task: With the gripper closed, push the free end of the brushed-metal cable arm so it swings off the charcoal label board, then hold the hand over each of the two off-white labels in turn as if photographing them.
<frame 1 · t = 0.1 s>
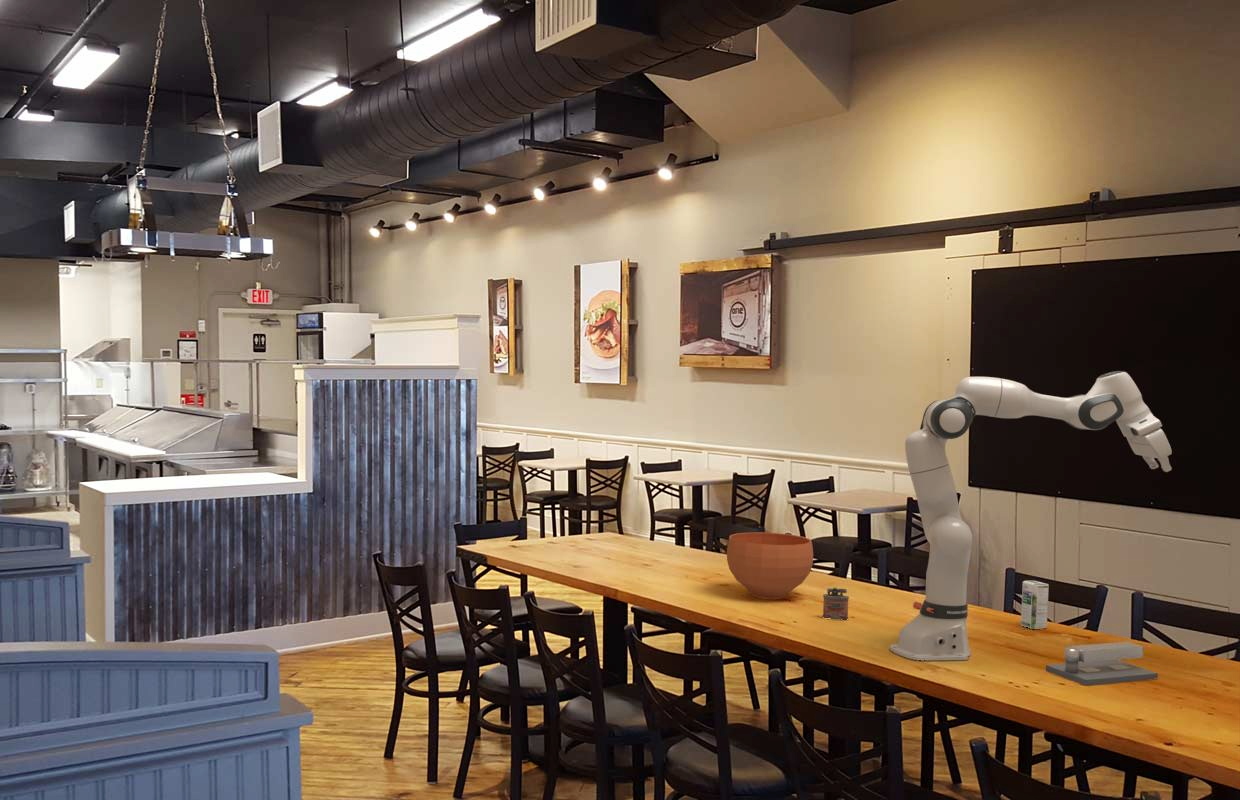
hand: (1161, 469, 276), 54 cm above the table, tool tilted 30°, fingers open, 8 cm apart
label board: (1101, 674, 266), on the table
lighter: (835, 619, 323), on the table
bowl: (768, 596, 355), on the table
cable arm: (1101, 652, 266), point 6 cm above the table, hinge at 0.0°
syrup box: (1033, 628, 319), on the table
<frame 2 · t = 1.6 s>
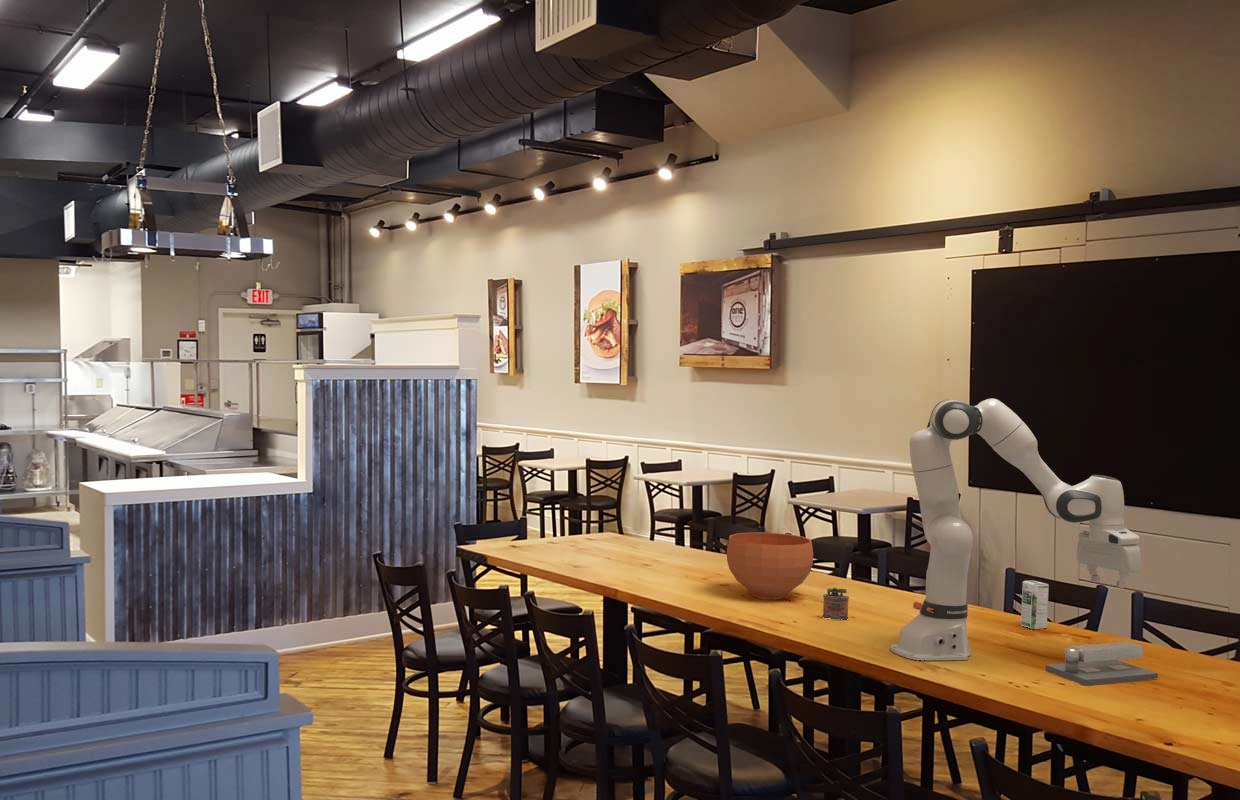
hand: (1108, 584, 276), 22 cm above the table, tool pointing down, fingers open, 8 cm apart
nothing on the table moved.
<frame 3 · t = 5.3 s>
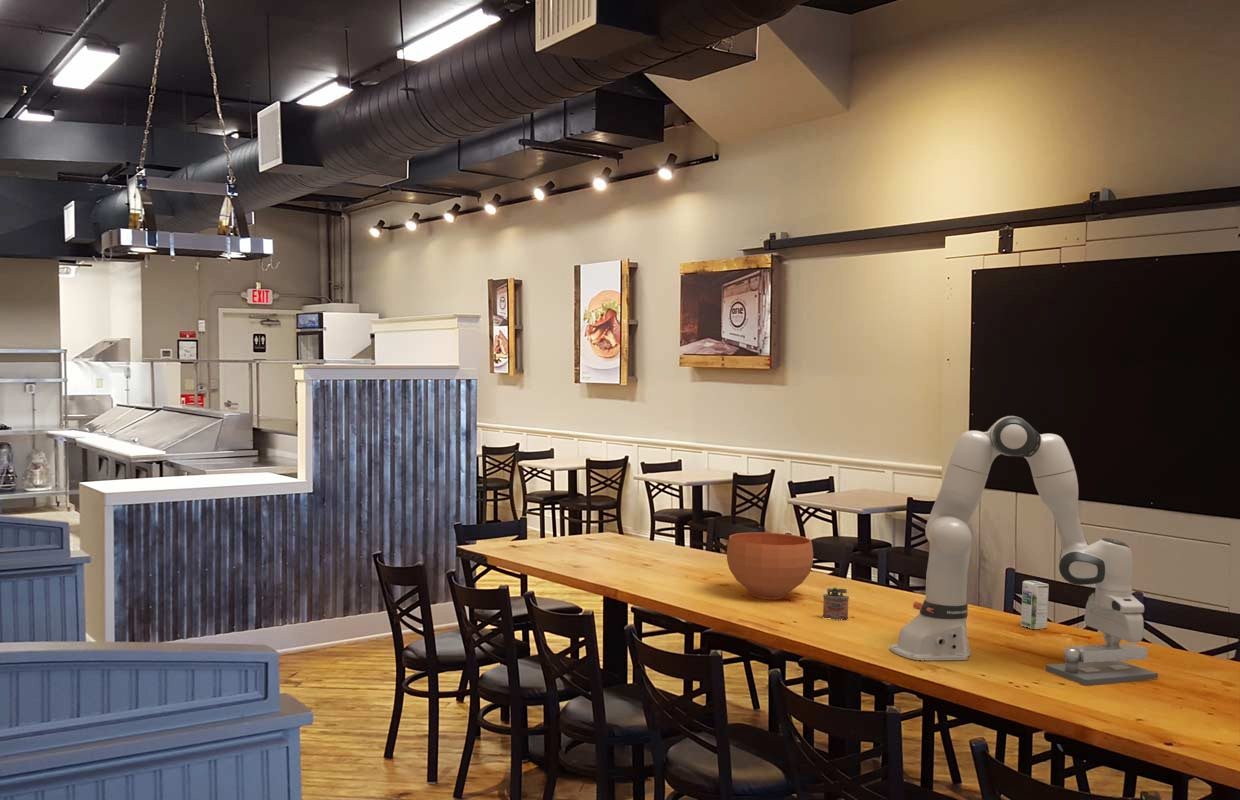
hand: (1111, 650, 271), 5 cm above the table, tool pointing down, fingers closed
cable arm: (1103, 653, 265), point 6 cm above the table, hinge at -4.3°, touching gripper
everything else where it was.
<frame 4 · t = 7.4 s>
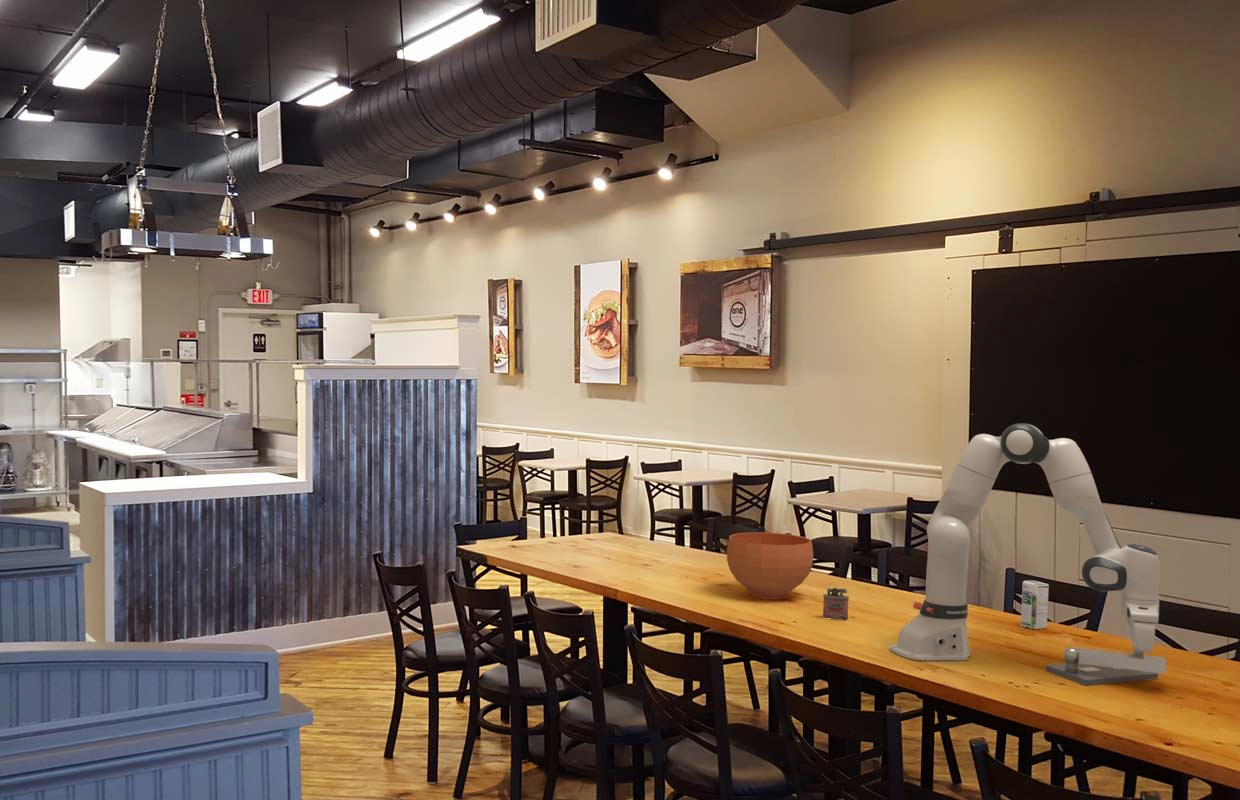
hand: (1138, 661, 261), 5 cm above the table, tool pointing down, fingers closed
cable arm: (1113, 659, 259), point 6 cm above the table, hinge at -41.9°, touching gripper
everything else where it was.
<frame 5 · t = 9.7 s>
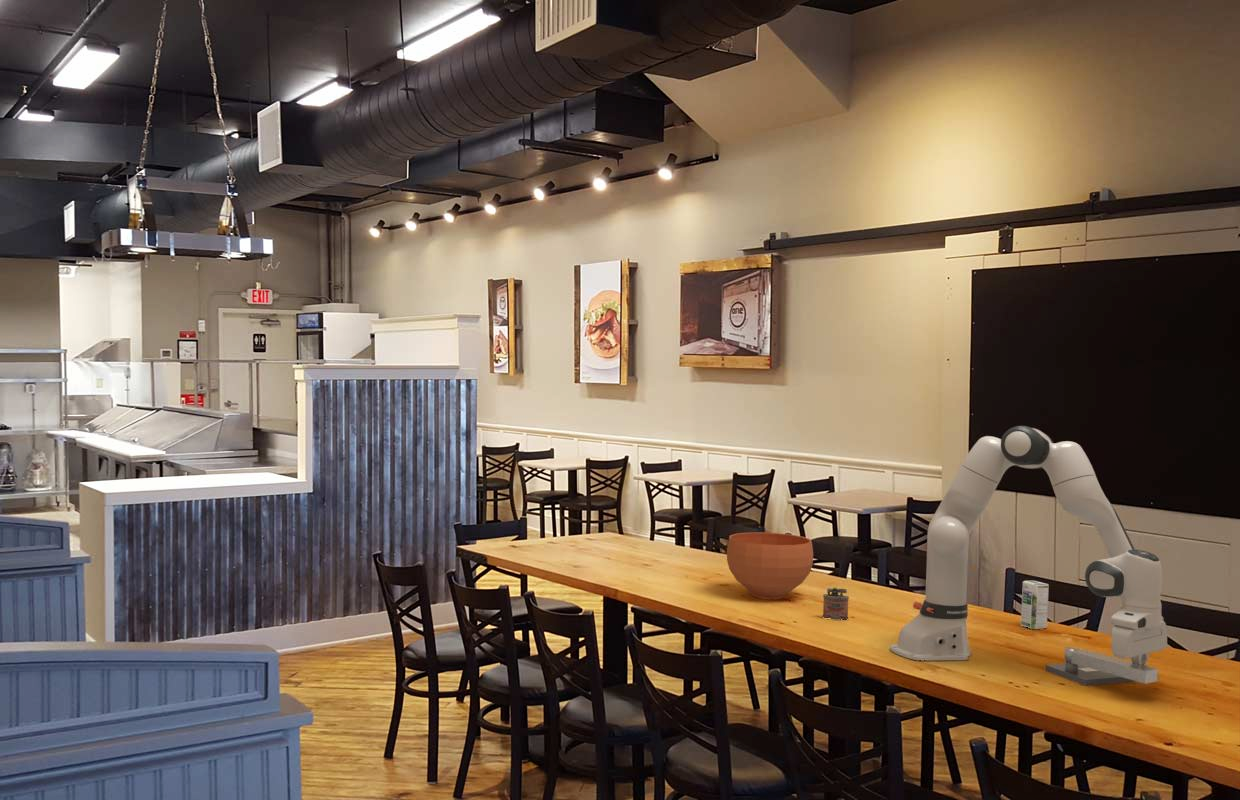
hand: (1139, 671, 251), 5 cm above the table, tool pointing down, fingers closed
cable arm: (1107, 664, 254), point 6 cm above the table, hinge at -78.7°, touching gripper
everything else where it was.
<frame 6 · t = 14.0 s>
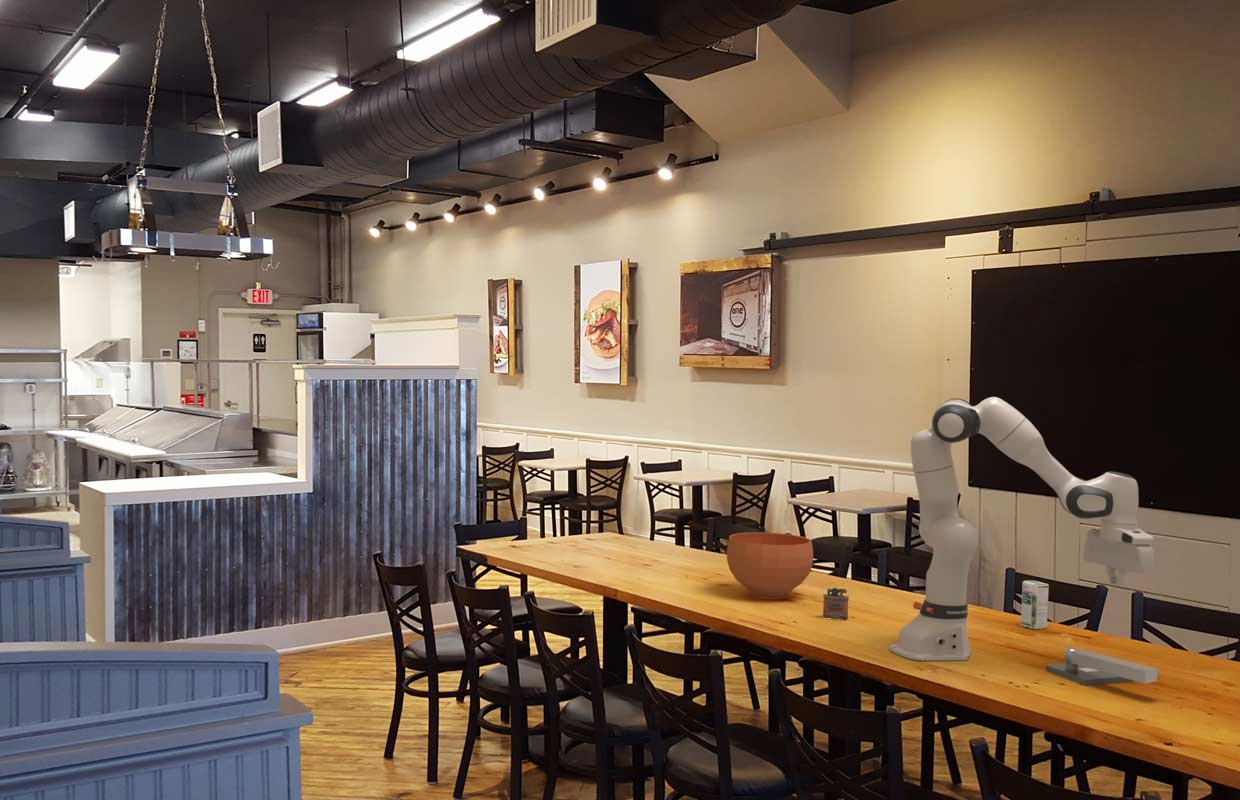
hand: (1116, 584, 268), 24 cm above the table, tool pointing down, fingers closed
cable arm: (1107, 664, 254), point 6 cm above the table, hinge at -78.8°
everything else where it was.
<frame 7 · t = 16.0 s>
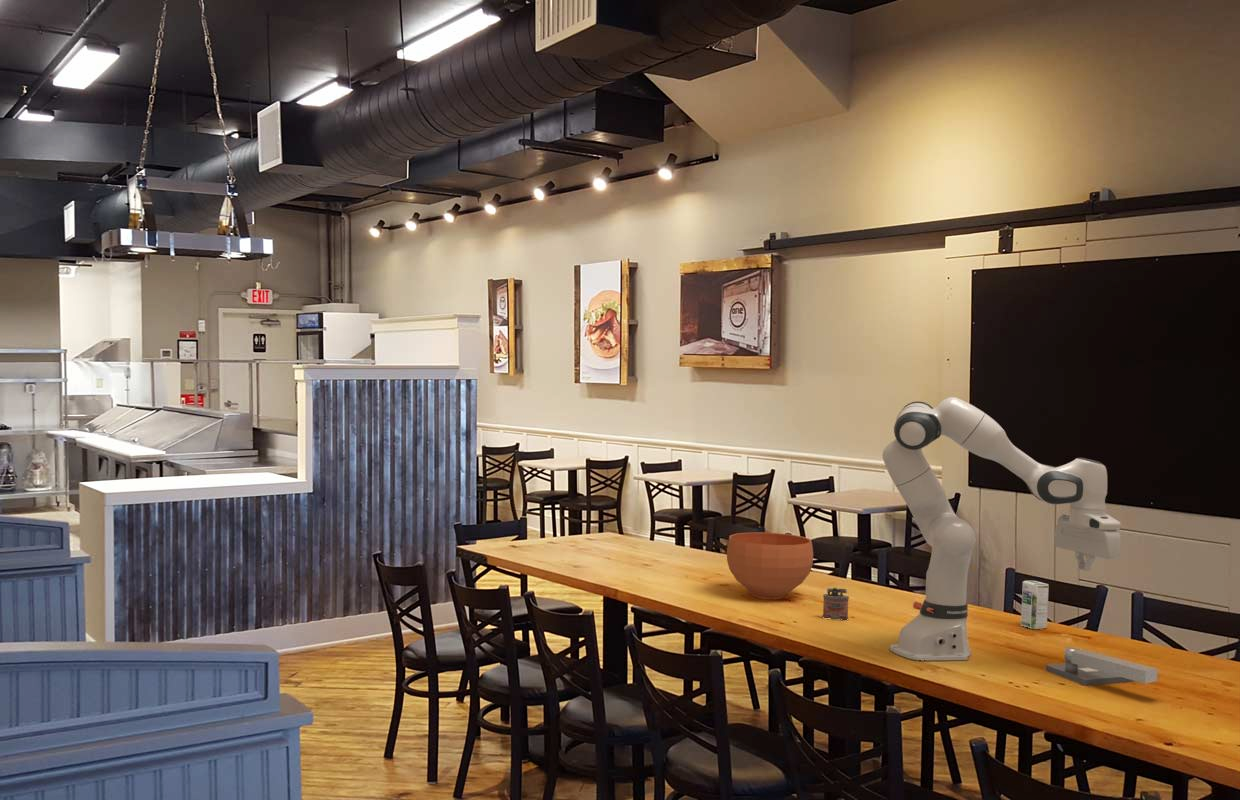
hand: (1084, 570, 270), 27 cm above the table, tool pointing down, fingers closed
nothing on the table moved.
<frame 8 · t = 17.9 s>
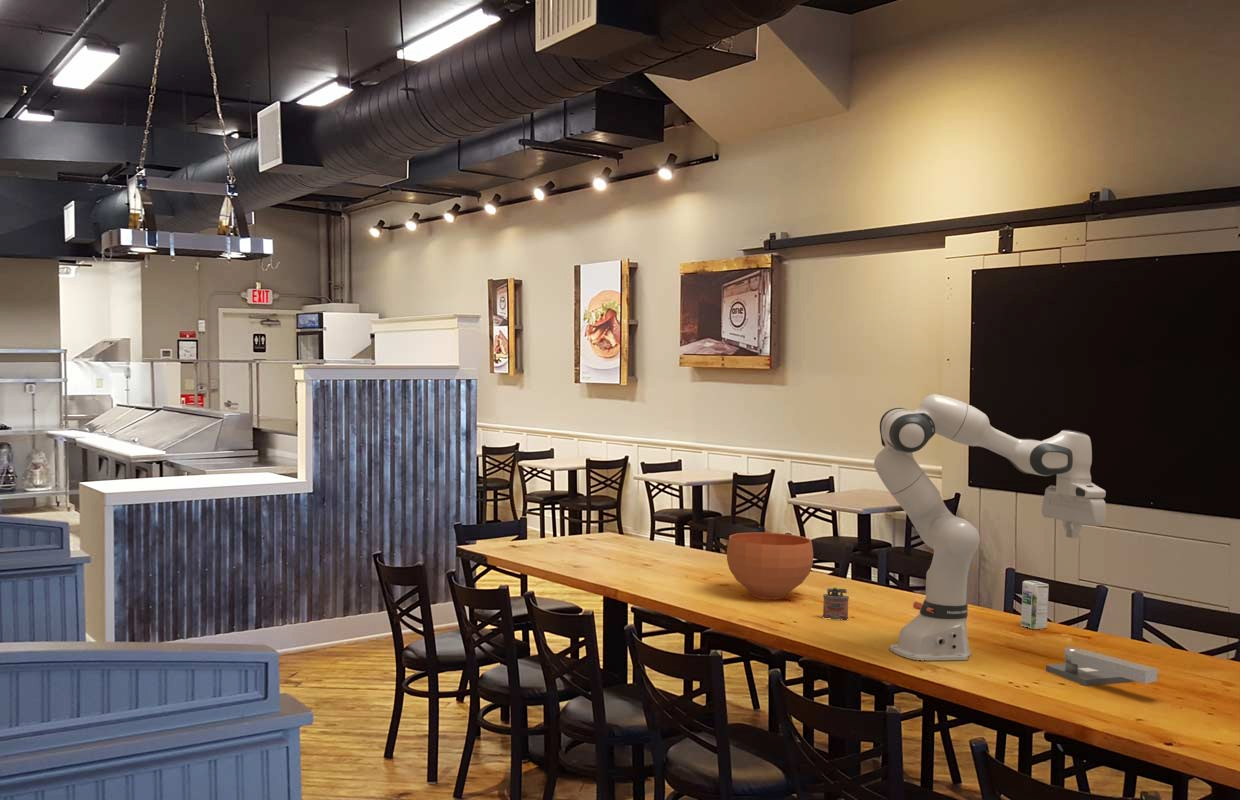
hand: (1071, 537, 281), 34 cm above the table, tool pointing down, fingers closed
nothing on the table moved.
at the end: cable arm at -79° (first picture: +0°) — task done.
